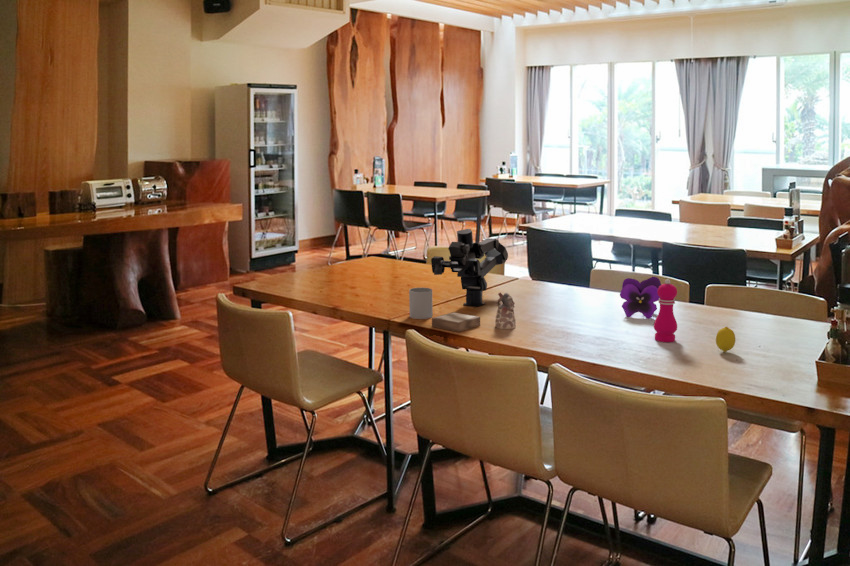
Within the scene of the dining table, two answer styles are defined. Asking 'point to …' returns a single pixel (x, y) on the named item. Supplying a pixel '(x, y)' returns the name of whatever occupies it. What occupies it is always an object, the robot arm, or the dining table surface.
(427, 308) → the cup
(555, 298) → the dining table surface
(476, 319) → the plinth
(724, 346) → the lemon
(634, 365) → the dining table surface
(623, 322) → the dining table surface
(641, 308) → the flower
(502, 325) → the figurine
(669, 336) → the pepper mill
